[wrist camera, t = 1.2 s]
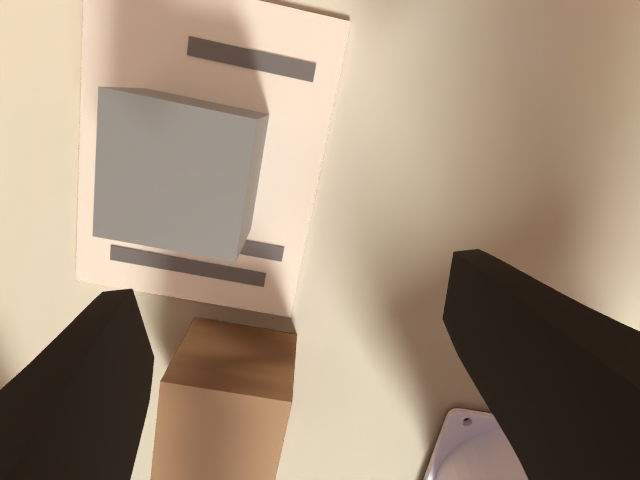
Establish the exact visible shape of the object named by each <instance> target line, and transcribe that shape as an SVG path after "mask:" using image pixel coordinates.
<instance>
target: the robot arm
mask: <svg viewBox="0 0 640 480" xmlns="http://www.w3.org/2000/svg"><path fill="white" fill-rule="evenodd" d="M443 321H444V323H445V326H446V328H447V331H448V333H449V336H450V338H451V340H452V343H453V345H454V347H455V350H456V352H457V354H458V356H459V358H460V360H461V361H462V363H463V365H464V367H465V368H466V370H467V372H468V374H469V375H470V377H471V379H472V380H473V382H474V384H475V386H476V387H477V389H478V391H479V392H480V394H481V396H482V397H483V399H484V401H485V402H486V404H487V406H488V407H489V409H490V411H491V412H492V413H486V412H480V411H474V410H467V409H461V408H454V409H451V410H450V411H449V412H448V413H447V415H446V418H445V421H444V423H443V426H442V429H441V432H440V434H439V437H438V440H437V443H436V446H435V448H434V451H433V454H432V457H431V459H430V462H429V465H428V468H427V470H426V473H425V476H424V479H423V480H640V331H638V330H635V329H633V328H631V327H629V326H626V325H624V324H622V323H620V322H618V321H616V320H614V319H612V318H610V317H607V316H605V315H603V314H601V313H599V312H597V311H595V310H593V309H591V308H589V307H587V306H585V305H583V304H581V303H579V302H577V301H575V300H573V299H571V298H569V297H568V296H566V295H564V294H562V293H560V292H558V291H556V290H554V289H553V288H551V287H549V286H547V285H545V284H543V283H542V282H540V281H538V280H536V279H534V278H532V277H531V276H529V275H527V274H525V273H523V272H522V271H520V270H518V269H516V268H514V267H512V266H511V265H509V264H507V263H505V262H503V261H501V260H500V259H498V258H496V257H494V256H492V255H490V254H488V253H486V252H484V251H481V250H479V249H474V250H466V251H457V252H453V258H452V264H451V270H450V277H449V283H448V289H447V295H446V301H445V307H444V314H443ZM153 365H154V355H153V352H152V349H151V345H150V342H149V339H148V336H147V333H146V330H145V327H144V323H143V320H142V317H141V314H140V311H139V308H138V304H137V301H136V298H135V295H134V292H133V289H123V290H115V291H106V292H102V293H101V294H100V295H99V296H98V297H96V298H95V299H94V300H93V301H92V302H91V303H90V304H89V305H88V306H87V307H86V308H85V309H84V310H83V311H82V312H81V313H80V314H79V315H78V316H77V317H76V318H75V319H74V320H73V321H72V322H71V323H70V324H69V325H68V326H67V327H66V328H65V329H64V330H63V331H62V332H61V333H60V334H59V335H58V336H57V337H56V338H55V339H54V340H53V341H52V342H51V343H50V344H49V345H48V346H47V347H46V348H45V349H44V350H43V351H42V352H41V353H40V354H39V355H38V356H37V357H36V358H35V359H34V360H33V361H32V362H31V363H30V364H29V365H27V366H26V367H25V368H24V369H23V370H22V371H21V372H20V373H19V374H17V375H16V376H15V377H14V378H13V379H12V380H11V381H10V382H9V383H8V384H6V385H5V386H4V387H3V388H2V389H1V390H0V480H130V479H131V475H132V471H133V466H134V462H135V458H136V454H137V450H138V446H139V442H140V438H141V434H142V430H143V426H144V422H145V418H146V414H147V409H148V405H149V400H150V392H151V384H152V375H153ZM465 418H469V419H468V420H466V421H463V420H464V419H465Z"/></svg>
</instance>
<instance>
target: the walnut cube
mask: <svg viewBox="0 0 640 480" xmlns="http://www.w3.org/2000/svg"><path fill="white" fill-rule="evenodd" d="M296 341H297V334H292V333H286V332H280V331H274V330H268V329H262V328H256V327H250V326H244V325H238V324H232V323H226V322H220V321H214V320H208V319H202V318H196V317H195V318H194V320H193V321H192V323H191V325H190V327H189V329H188V331H187V333H186V335H185V336H184V338H183V340H182V342H181V344H180V346H179V348H178V350H177V351H176V353H175V355H174V357H173V359H172V361H171V363H170V364H169V366H168V368H167V370H166V372H165V374H164V376H163V378H162V379H161V381H160V390H159V400H158V410H157V420H156V430H155V440H154V450H153V460H152V470H151V480H275V478H276V474H277V469H278V465H279V460H280V456H281V451H282V446H283V442H284V437H285V433H286V428H287V424H288V419H289V414H290V410H291V405H292V397H293V383H294V369H295V355H296Z"/></svg>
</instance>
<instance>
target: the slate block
mask: <svg viewBox="0 0 640 480" xmlns="http://www.w3.org/2000/svg"><path fill="white" fill-rule="evenodd" d="M268 120H269V114H266V113H261V112H256V111H252V110H247V109H242V108H237V107H233V106H228V105H223V104H218V103H213V102H209V101H204V100H199V99H194V98H190V97H185V96H180V95H175V94H171V93H166V92H161V91H156V90H151V89H147V88H126V87H100V86H98V108H97V133H96V159H95V184H94V210H93V235H92V236H94V237H99V238H105V239H110V240H116V241H121V242H127V243H132V244H138V245H143V246H149V247H154V248H160V249H166V250H171V251H177V252H182V253H188V254H193V255H199V256H204V257H210V258H215V259H221V260H226V261H232V262H236V261H237V259H238V256H239V254H240V252H241V250H242V248H243V246H244V243H245V241H246V239H247V237H248V235H249V232H250V230H251V226H252V220H253V214H254V207H255V201H256V195H257V189H258V182H259V176H260V170H261V164H262V157H263V151H264V145H265V139H266V133H267V126H268Z"/></svg>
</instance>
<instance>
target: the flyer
mask: <svg viewBox="0 0 640 480" xmlns="http://www.w3.org/2000/svg"><path fill="white" fill-rule="evenodd" d="M350 23H351V21H347V20H342V19H338V18H334V17H329V16H325V15H321V14H316V13H312V12H308V11H303V10H299V9H294V8H290V7H286V6H281V5H277V4H273V3H268V2H264V1H260V0H83V33H82V70H81V106H80V143H79V179H78V216H77V252H76V281H82V282H88V283H94V284H100V285H105V286H111V287H117V288H123V289H133V290H134V291H140V292H146V293H152V294H158V295H163V296H169V297H175V298H181V299H186V300H192V301H198V302H204V303H210V304H215V305H221V306H227V307H233V308H239V309H244V310H250V311H256V312H262V313H268V314H273V315H279V316H285V317H291V312H292V307H293V302H294V297H295V292H296V288H297V283H298V278H299V273H300V268H301V263H302V258H303V253H304V248H305V244H306V239H307V234H308V229H309V224H310V219H311V214H312V209H313V204H314V199H315V195H316V190H317V185H318V180H319V175H320V170H321V165H322V160H323V155H324V151H325V146H326V141H327V136H328V131H329V126H330V121H331V116H332V111H333V106H334V102H335V97H336V92H337V87H338V82H339V77H340V72H341V67H342V62H343V58H344V53H345V48H346V43H347V38H348V33H349V28H350ZM98 86H100V87H126V88H147V89H151V90H156V91H161V92H166V93H171V94H175V95H180V96H185V97H190V98H194V99H199V100H204V101H209V102H213V103H218V104H223V105H228V106H233V107H237V108H242V109H247V110H252V111H256V112H261V113H266V114H269V120H268V126H267V133H266V139H265V145H264V151H263V157H262V164H261V170H260V176H259V182H258V189H257V195H256V201H255V207H254V214H253V220H252V226H251V230H250V232H249V235H248V237H247V239H246V241H245V243H244V246H243V248H242V250H241V252H240V254H239V256H238V259H237V261H236V262H232V261H226V260H221V259H215V258H210V257H204V256H199V255H193V254H188V253H182V252H177V251H171V250H166V249H160V248H154V247H149V246H143V245H138V244H132V243H127V242H121V241H116V240H110V239H105V238H99V237H94V236H92V235H93V210H94V184H95V159H96V133H97V108H98Z"/></svg>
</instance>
